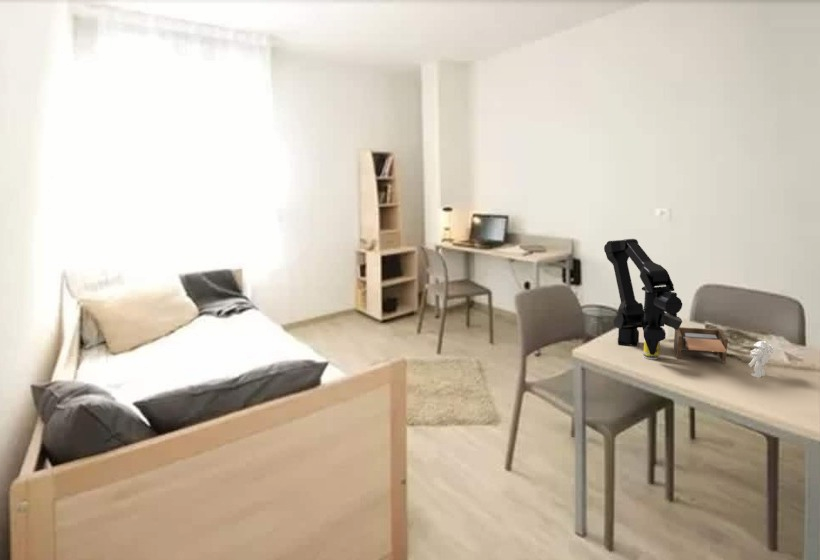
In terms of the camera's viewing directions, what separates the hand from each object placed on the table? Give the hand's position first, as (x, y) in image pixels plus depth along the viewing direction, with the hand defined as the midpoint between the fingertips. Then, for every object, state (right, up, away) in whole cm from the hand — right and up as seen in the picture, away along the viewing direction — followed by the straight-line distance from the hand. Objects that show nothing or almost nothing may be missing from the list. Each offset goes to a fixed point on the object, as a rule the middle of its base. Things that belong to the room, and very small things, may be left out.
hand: (651, 349), depth 166 cm
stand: (+16, -2, 0) cm, 16 cm away
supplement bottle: (0, -3, +1) cm, 3 cm away
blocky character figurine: (+24, -5, -17) cm, 30 cm away
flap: (+13, 0, -7) cm, 15 cm away
